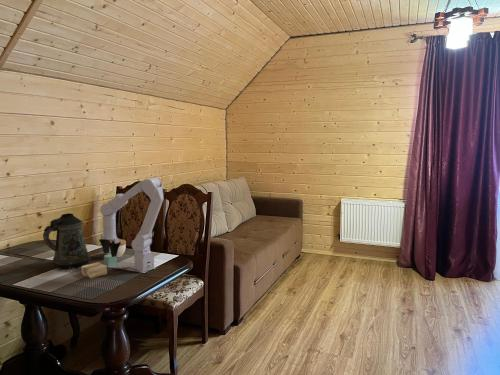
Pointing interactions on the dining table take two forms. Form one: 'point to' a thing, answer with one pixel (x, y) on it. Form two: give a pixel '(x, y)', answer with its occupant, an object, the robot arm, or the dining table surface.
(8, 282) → the dining table surface
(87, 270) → the birch base block
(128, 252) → the dining table surface
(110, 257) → the teal block
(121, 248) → the lidded jar
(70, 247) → the beer stein
